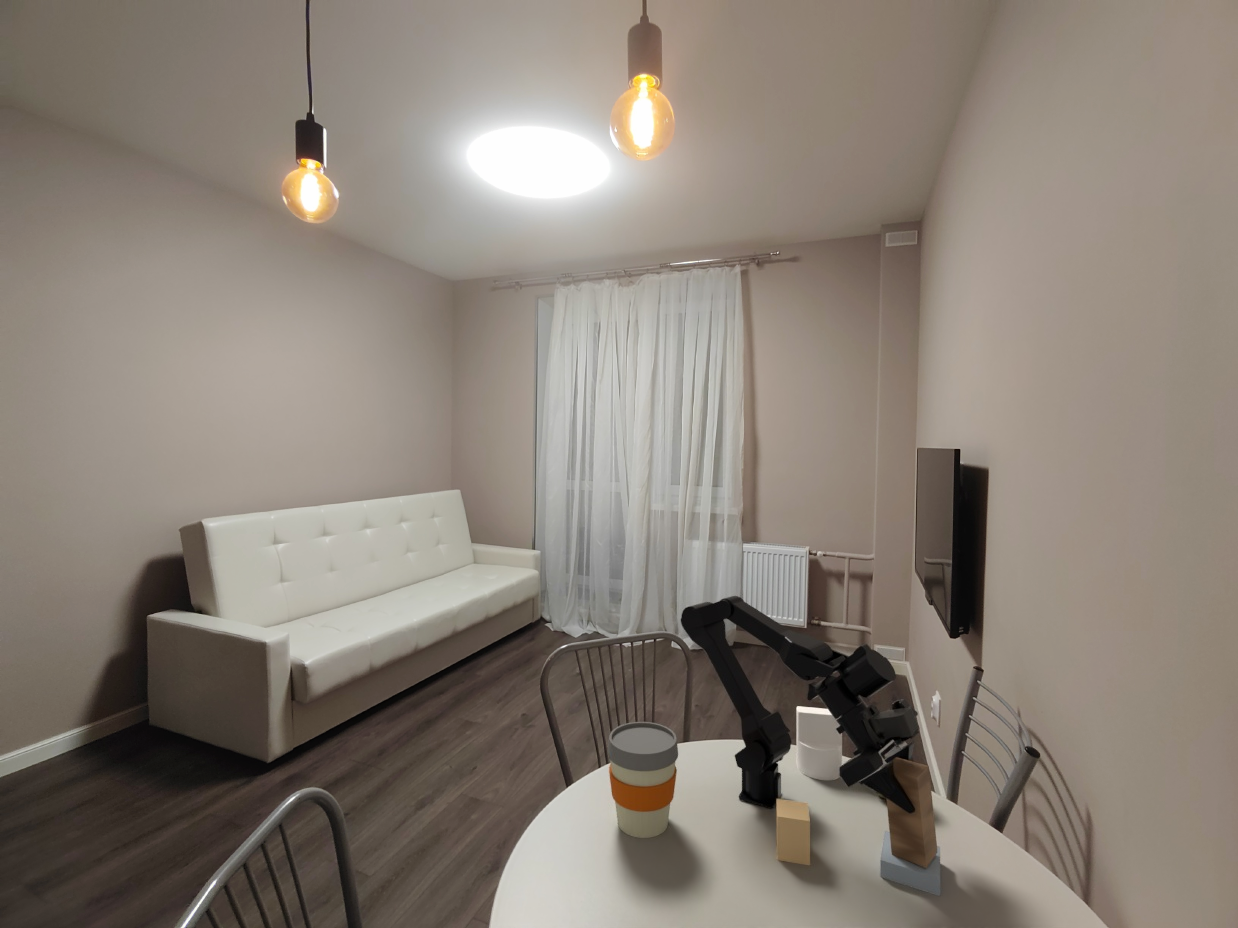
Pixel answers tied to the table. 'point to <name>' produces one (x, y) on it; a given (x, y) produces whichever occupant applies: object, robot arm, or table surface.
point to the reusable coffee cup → (642, 776)
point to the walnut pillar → (913, 815)
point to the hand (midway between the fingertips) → (919, 804)
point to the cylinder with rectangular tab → (818, 743)
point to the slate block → (910, 870)
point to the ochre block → (793, 832)
